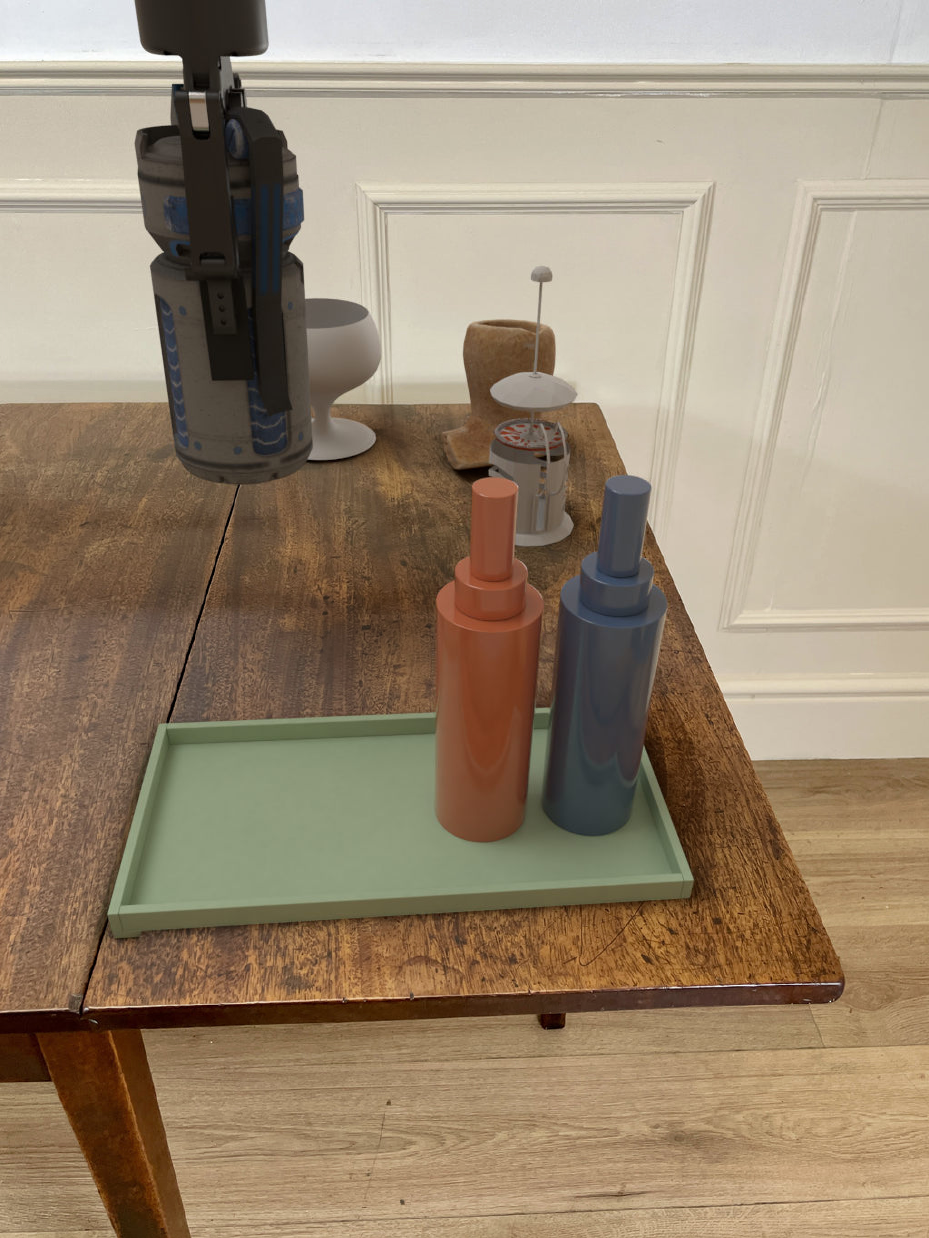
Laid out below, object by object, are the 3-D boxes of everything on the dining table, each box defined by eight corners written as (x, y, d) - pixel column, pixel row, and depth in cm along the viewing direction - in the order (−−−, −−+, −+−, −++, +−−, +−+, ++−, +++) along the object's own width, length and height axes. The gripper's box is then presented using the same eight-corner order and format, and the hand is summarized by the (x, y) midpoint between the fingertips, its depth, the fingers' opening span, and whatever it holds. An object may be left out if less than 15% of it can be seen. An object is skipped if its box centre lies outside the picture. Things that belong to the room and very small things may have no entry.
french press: (551, 495, 100) (572, 250, 86) (597, 547, 91) (628, 282, 77) (464, 506, 98) (470, 255, 84) (501, 561, 89) (515, 289, 75)
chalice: (271, 472, 103) (257, 336, 95) (257, 424, 115) (244, 298, 106) (395, 460, 107) (393, 328, 99) (370, 414, 118) (366, 292, 110)
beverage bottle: (225, 517, 64) (180, 100, 51) (153, 452, 73) (97, 81, 59) (354, 484, 69) (344, 98, 56) (272, 427, 78) (246, 81, 65)
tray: (113, 938, 53) (106, 914, 52) (163, 746, 66) (158, 723, 65) (688, 903, 56) (694, 880, 55) (625, 726, 69) (628, 703, 68)
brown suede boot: (529, 425, 116) (537, 301, 108) (579, 462, 108) (592, 331, 99) (416, 443, 111) (415, 315, 103) (459, 484, 102) (462, 347, 94)
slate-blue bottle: (548, 839, 59) (583, 512, 46) (534, 772, 64) (561, 461, 51) (642, 834, 60) (702, 509, 47) (620, 768, 65) (669, 459, 52)
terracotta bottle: (437, 845, 58) (441, 515, 46) (431, 777, 63) (433, 463, 51) (533, 839, 59) (563, 512, 46) (519, 773, 64) (543, 461, 51)
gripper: (248, -24, 46) (286, 410, 58) (273, -22, 65) (298, 306, 77) (88, -28, 45) (161, 413, 57) (161, -25, 64) (204, 307, 76)
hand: (240, 352), depth 67 cm, fingers closed on beverage bottle, 10 cm apart
